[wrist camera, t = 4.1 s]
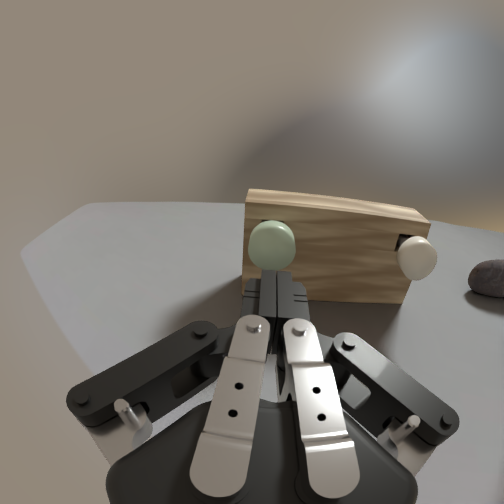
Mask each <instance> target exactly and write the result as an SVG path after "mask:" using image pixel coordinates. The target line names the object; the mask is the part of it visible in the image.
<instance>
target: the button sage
mask: <svg viewBox="0 0 504 504" xmlns="http://www.w3.org/2000/svg"><path fill="white" fill-rule="evenodd" d="M295 253H296V247H295V241H294V235H293V233H292V231H291V229H290V228H289V227H288V226H287V225H285V224H284V223H282V222H279V221H276V220H268V221H265V222H262V223H260V224H259V225H257V226H256V227H255V228H254V229H253V231H252V233H251V235H250V240H249V246H248V254H249V257H250V259H251V261H252V262H253V263H254V264H255V265H256V266H257V267H259V268H261V269H266V270H276V271H277V270H281V269H283V268H285V267H287V266H288V265H289V264H290V263H291V262H292V261H293V259H294V257H295Z"/></svg>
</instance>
